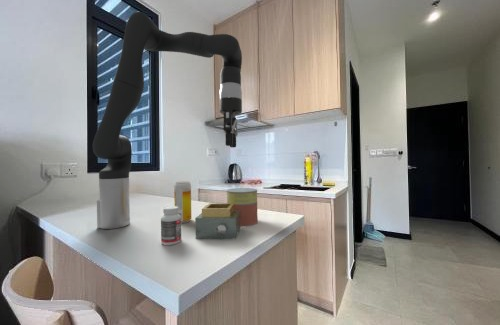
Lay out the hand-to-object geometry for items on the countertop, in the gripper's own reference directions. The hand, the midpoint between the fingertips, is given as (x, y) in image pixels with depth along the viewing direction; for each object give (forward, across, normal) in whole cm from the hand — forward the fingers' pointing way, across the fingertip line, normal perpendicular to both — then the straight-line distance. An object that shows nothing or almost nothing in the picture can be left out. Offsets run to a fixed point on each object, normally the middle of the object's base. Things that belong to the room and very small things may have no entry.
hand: (231, 146), depth 73 cm
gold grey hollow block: (+28, +7, -3) cm, 29 cm away
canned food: (+28, -6, +3) cm, 29 cm away
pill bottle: (+28, +14, -15) cm, 35 cm away
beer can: (+28, -7, -20) cm, 35 cm away
